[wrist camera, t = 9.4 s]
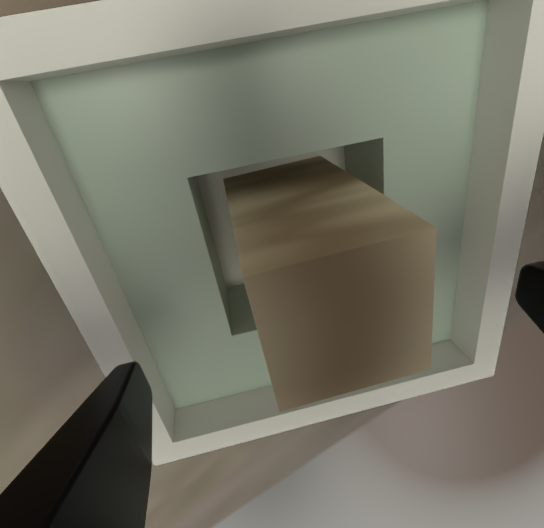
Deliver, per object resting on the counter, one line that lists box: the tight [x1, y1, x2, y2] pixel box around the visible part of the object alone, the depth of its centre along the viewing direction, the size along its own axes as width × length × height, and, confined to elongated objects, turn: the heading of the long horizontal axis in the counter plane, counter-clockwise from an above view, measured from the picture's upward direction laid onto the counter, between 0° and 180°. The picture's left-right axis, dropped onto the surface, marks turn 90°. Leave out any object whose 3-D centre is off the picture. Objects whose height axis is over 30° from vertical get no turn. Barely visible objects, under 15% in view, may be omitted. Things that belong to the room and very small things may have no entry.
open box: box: [0, 0, 544, 466], centre depth 13 cm, size 14×14×6 cm
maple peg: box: [223, 156, 437, 412], centre depth 11 cm, size 4×4×8 cm
